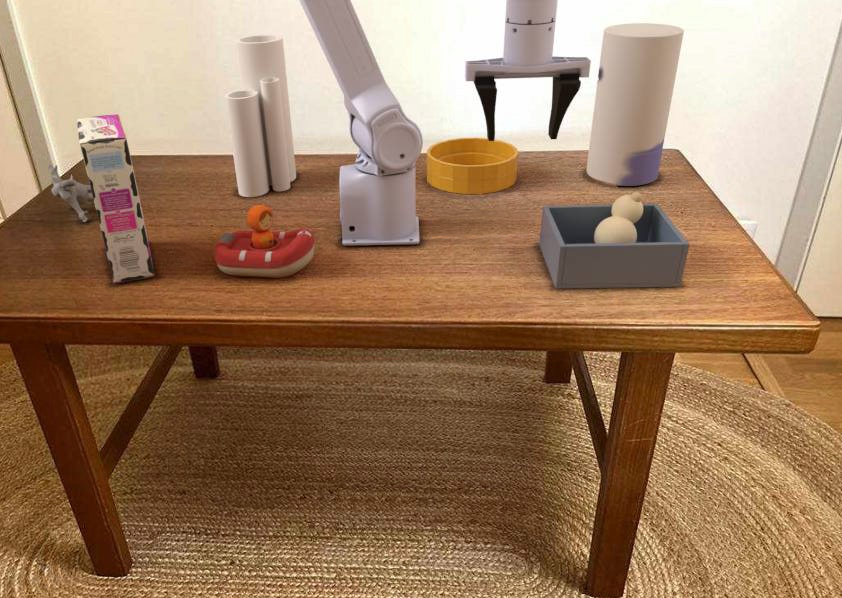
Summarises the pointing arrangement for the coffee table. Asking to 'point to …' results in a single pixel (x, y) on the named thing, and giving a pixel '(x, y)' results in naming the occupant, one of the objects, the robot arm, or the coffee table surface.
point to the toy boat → (264, 248)
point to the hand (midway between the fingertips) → (521, 137)
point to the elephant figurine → (71, 191)
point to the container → (633, 102)
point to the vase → (261, 117)
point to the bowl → (472, 165)
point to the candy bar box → (115, 197)
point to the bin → (611, 249)
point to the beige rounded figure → (621, 221)
